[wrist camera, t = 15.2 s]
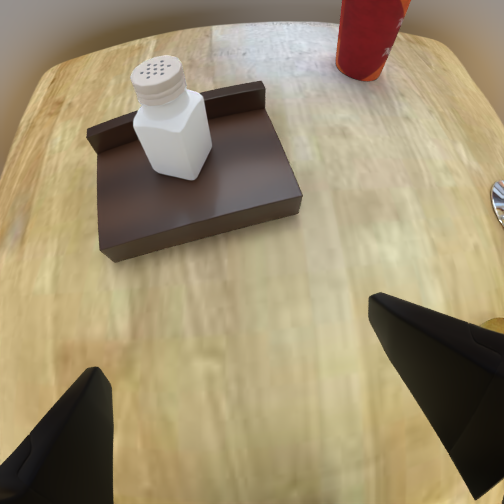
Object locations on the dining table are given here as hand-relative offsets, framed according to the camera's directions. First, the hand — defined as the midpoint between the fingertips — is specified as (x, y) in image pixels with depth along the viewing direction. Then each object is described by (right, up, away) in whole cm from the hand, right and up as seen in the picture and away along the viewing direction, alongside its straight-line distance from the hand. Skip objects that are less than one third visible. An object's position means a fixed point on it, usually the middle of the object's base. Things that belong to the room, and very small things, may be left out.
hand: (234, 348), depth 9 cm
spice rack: (-5, +9, +18) cm, 21 cm away
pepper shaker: (-5, +10, +15) cm, 19 cm away
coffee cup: (+14, +27, +24) cm, 39 cm away
